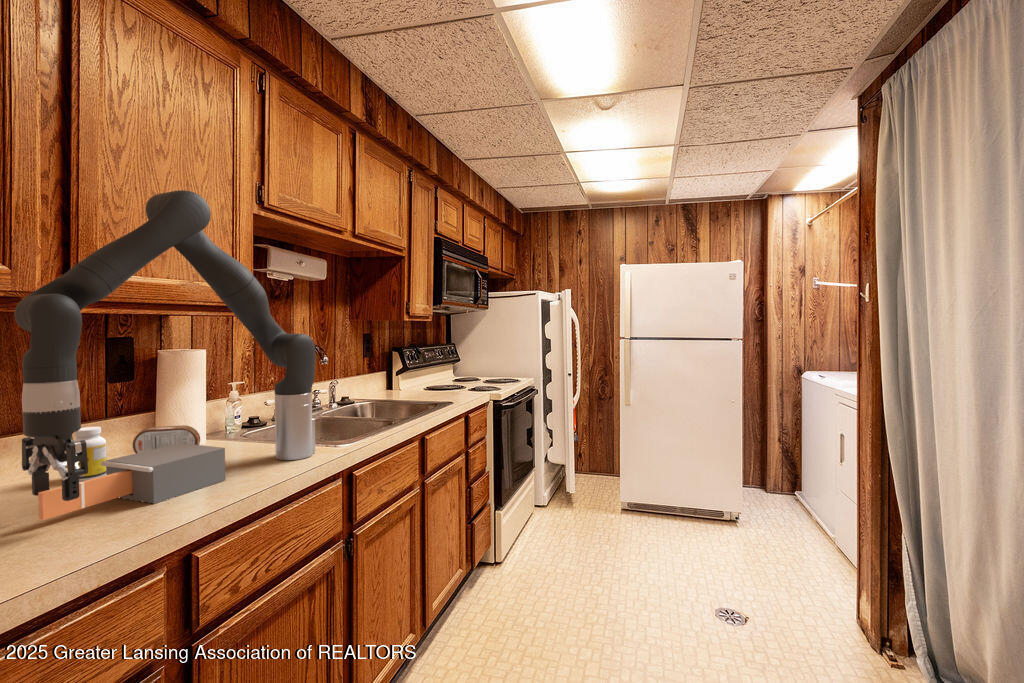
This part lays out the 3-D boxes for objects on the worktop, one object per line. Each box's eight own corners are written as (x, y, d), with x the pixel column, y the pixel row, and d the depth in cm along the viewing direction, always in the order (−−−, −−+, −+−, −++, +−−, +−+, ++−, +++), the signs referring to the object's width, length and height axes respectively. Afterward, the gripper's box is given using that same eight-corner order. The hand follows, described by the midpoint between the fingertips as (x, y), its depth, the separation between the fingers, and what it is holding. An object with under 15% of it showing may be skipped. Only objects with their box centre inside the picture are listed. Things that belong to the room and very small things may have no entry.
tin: (200, 453, 137) (200, 423, 137) (198, 456, 134) (197, 425, 134) (135, 458, 132) (134, 427, 131) (131, 461, 129) (130, 429, 129)
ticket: (145, 487, 103) (144, 465, 103) (149, 488, 103) (149, 465, 103) (38, 519, 86) (38, 492, 86) (43, 520, 86) (42, 493, 86)
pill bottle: (65, 479, 113) (63, 429, 113) (98, 472, 119) (97, 424, 119) (78, 484, 110) (76, 432, 110) (112, 476, 116) (111, 427, 116)
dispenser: (181, 474, 117) (180, 443, 117) (225, 480, 112) (224, 447, 112) (101, 497, 101) (100, 461, 101) (148, 505, 96) (147, 467, 96)
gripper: (102, 405, 89) (105, 494, 89) (52, 401, 93) (56, 486, 94) (51, 412, 81) (55, 509, 82) (0, 408, 86) (4, 499, 87)
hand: (55, 496), depth 88 cm, fingers open, 8 cm apart
